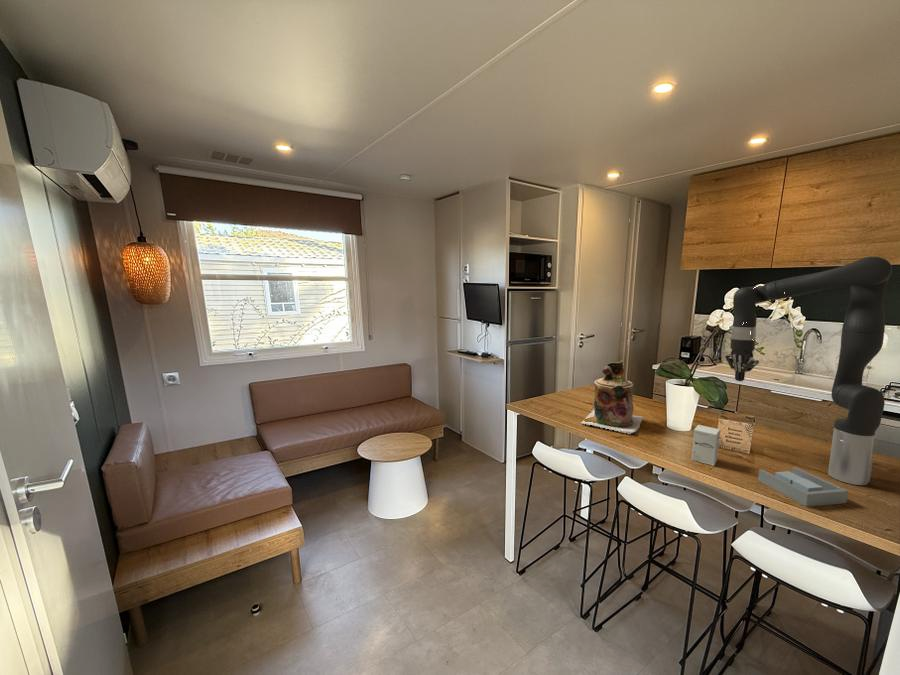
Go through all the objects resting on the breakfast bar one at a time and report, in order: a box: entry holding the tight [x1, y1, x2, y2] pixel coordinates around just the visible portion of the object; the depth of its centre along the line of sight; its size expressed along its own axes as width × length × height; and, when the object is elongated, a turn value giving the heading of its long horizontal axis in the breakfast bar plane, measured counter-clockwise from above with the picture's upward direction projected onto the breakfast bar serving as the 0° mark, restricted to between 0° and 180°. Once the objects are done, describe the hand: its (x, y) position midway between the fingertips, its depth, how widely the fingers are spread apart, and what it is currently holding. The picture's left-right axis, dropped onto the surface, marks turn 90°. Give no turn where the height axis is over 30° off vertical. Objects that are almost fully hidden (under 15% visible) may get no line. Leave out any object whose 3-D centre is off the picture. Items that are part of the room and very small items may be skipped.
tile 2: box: [791, 479, 823, 492], centre depth 114 cm, size 5×5×4 cm
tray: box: [757, 466, 849, 507], centre depth 116 cm, size 14×15×4 cm
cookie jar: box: [580, 359, 644, 435], centre depth 176 cm, size 25×25×32 cm
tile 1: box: [774, 470, 804, 484], centre depth 119 cm, size 5×5×4 cm
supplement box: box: [691, 424, 721, 467], centre depth 138 cm, size 7×7×13 cm
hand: (739, 380), depth 143 cm, fingers closed
